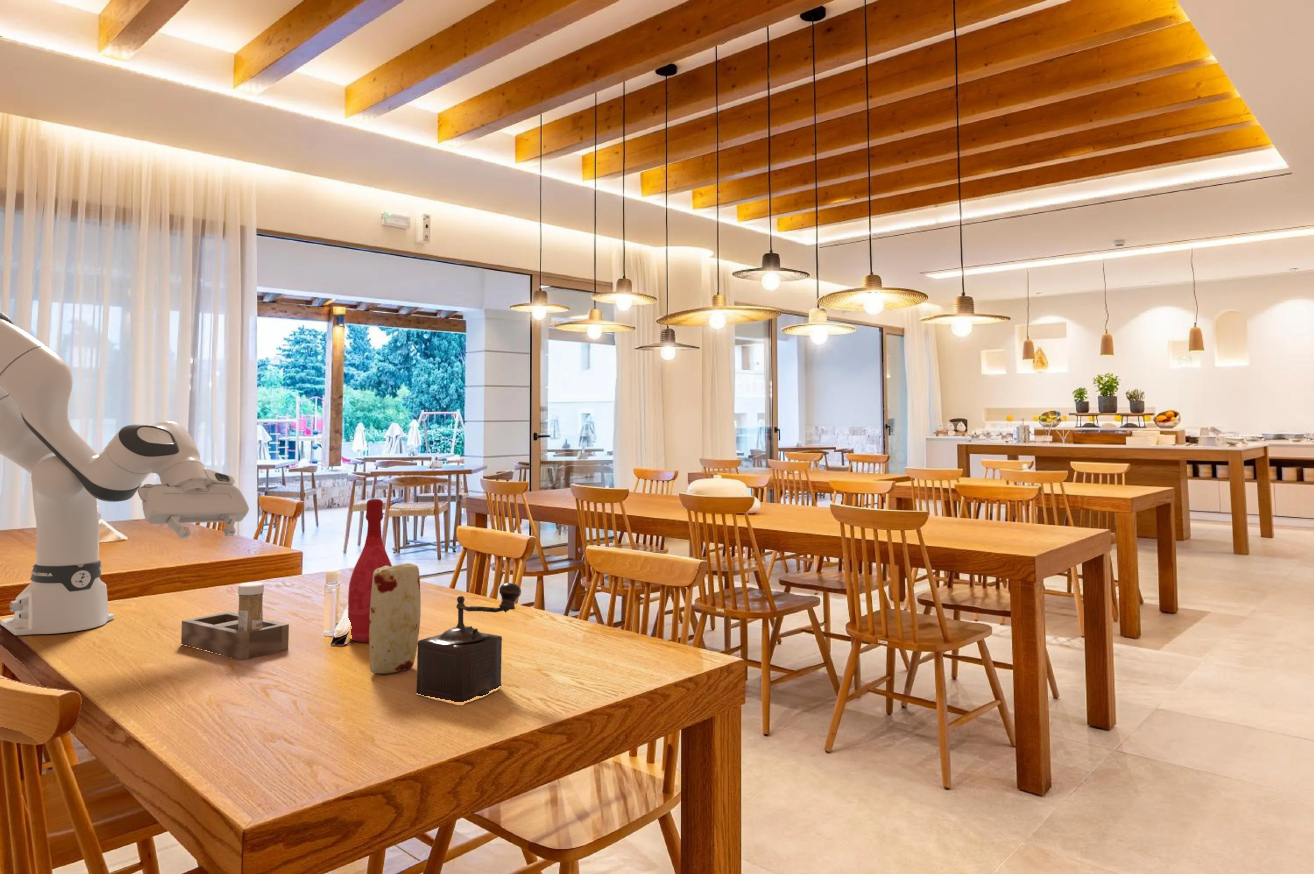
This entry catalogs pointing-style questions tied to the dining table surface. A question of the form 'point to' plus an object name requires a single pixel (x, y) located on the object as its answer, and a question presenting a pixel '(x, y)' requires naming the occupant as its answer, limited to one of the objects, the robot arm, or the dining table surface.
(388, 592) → the food model
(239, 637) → the rail
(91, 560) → the robot arm
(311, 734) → the dining table surface
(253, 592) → the sprinkles bottle
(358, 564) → the wine bottle
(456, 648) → the coffee grinder
